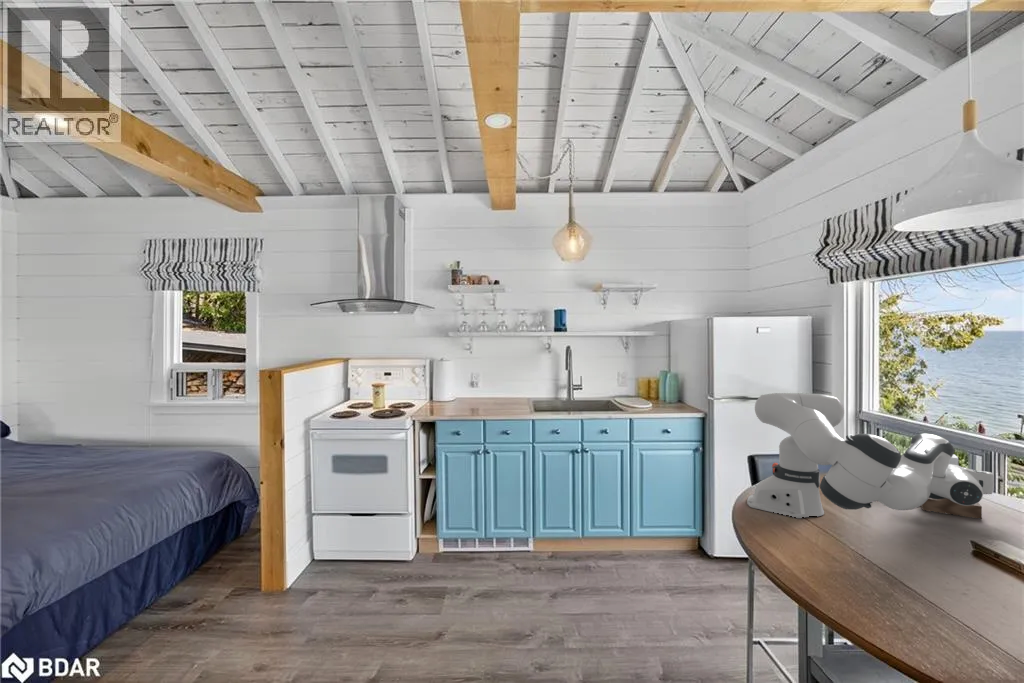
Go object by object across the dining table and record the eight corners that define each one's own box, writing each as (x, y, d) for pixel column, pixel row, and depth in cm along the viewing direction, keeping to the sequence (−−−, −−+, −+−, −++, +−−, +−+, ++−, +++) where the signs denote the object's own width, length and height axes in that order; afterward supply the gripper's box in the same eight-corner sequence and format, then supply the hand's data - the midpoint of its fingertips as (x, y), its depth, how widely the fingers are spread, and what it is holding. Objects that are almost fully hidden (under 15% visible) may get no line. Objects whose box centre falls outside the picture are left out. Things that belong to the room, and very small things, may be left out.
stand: (922, 510, 155) (922, 498, 154) (915, 496, 168) (915, 485, 168) (981, 519, 147) (981, 506, 147) (969, 503, 160) (969, 492, 160)
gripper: (911, 484, 153) (905, 473, 164) (999, 495, 141) (987, 483, 152) (911, 464, 153) (905, 455, 164) (999, 474, 141) (987, 464, 152)
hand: (945, 469), depth 158 cm, fingers closed on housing, 5 cm apart
